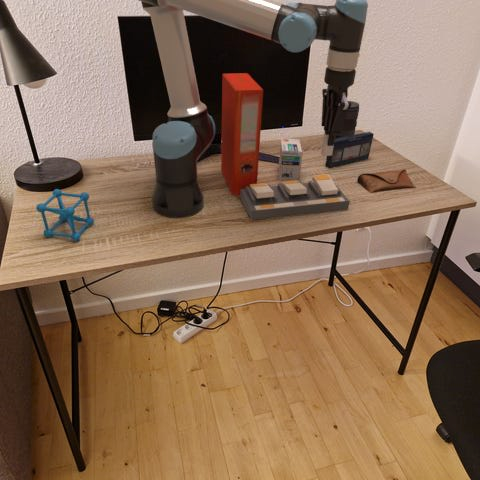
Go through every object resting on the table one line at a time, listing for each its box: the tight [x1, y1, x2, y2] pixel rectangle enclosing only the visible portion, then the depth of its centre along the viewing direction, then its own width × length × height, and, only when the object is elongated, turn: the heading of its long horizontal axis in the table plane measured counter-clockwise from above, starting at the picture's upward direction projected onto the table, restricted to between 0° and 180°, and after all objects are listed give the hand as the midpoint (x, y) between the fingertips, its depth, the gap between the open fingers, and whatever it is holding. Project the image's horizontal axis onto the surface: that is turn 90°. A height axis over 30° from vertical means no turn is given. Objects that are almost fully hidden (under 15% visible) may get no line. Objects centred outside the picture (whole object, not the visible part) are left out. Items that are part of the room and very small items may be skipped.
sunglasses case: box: [357, 169, 417, 194], centre depth 142 cm, size 18×7×7 cm
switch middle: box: [280, 180, 307, 195], centre depth 129 cm, size 5×8×2 cm, turn 14°
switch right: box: [311, 173, 339, 196], centre depth 131 cm, size 5×8×2 cm, turn 14°
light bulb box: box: [278, 138, 304, 182], centre depth 144 cm, size 11×7×11 cm, turn 179°
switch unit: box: [239, 180, 351, 221], centre depth 130 cm, size 30×13×4 cm, turn 104°
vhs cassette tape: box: [324, 131, 375, 169], centre depth 153 cm, size 18×3×10 cm, turn 118°
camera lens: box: [335, 100, 360, 139], centre depth 168 cm, size 8×8×15 cm
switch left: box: [250, 182, 274, 198], centre depth 127 cm, size 5×8×2 cm, turn 14°
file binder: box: [220, 72, 264, 196], centre depth 132 cm, size 8×17×32 cm, turn 14°
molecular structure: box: [35, 188, 95, 242], centre depth 113 cm, size 10×10×10 cm
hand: (326, 154), depth 122 cm, fingers closed
